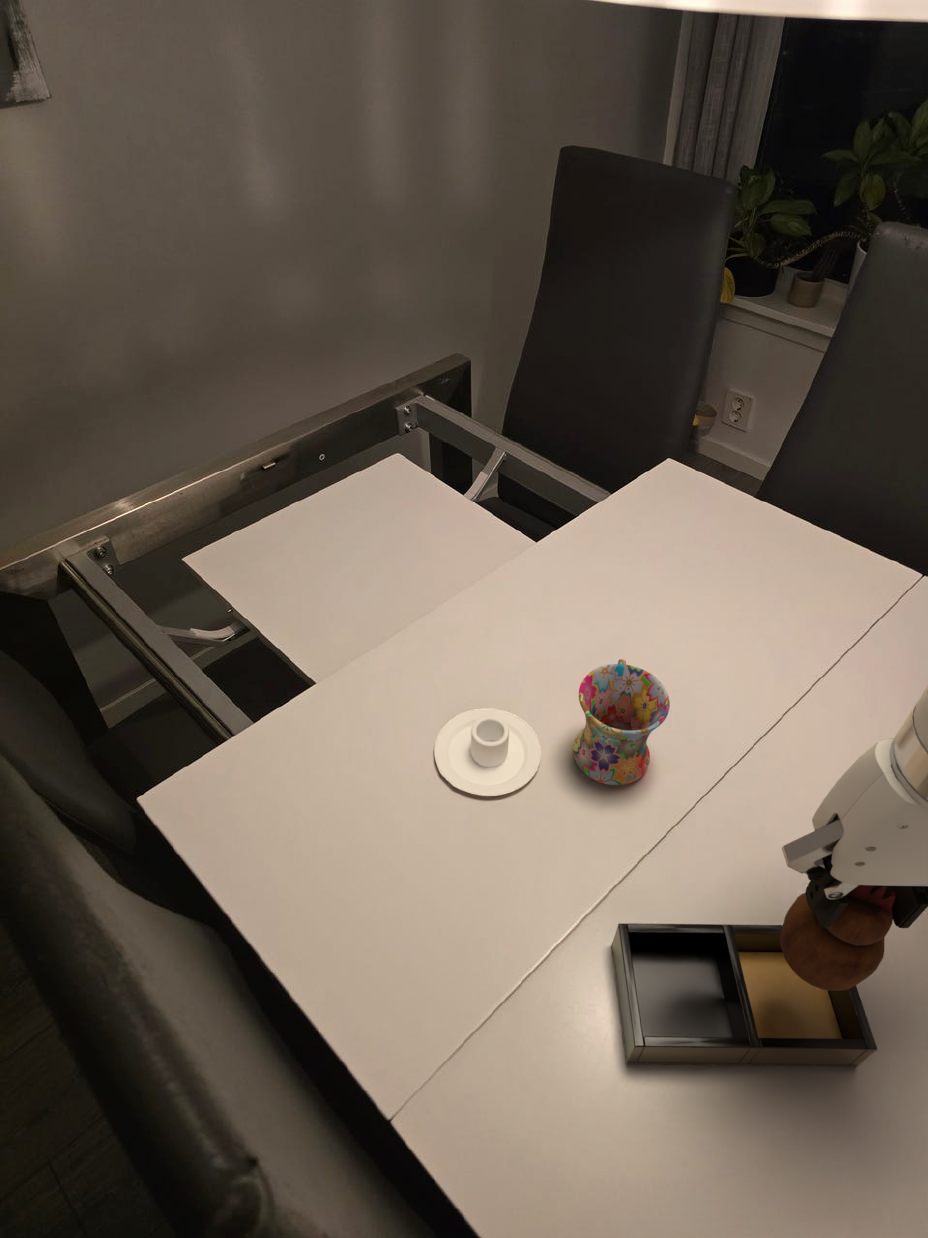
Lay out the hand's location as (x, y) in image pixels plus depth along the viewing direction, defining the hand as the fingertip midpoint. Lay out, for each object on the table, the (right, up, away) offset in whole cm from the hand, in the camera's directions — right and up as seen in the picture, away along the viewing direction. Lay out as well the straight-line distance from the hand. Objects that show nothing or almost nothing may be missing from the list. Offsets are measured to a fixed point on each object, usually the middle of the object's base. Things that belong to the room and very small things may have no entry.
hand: (856, 906), depth 56 cm
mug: (-11, +6, +33) cm, 35 cm away
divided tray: (-5, -13, +13) cm, 20 cm away
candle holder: (-25, +5, +32) cm, 42 cm away
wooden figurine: (0, -7, +7) cm, 10 cm away
